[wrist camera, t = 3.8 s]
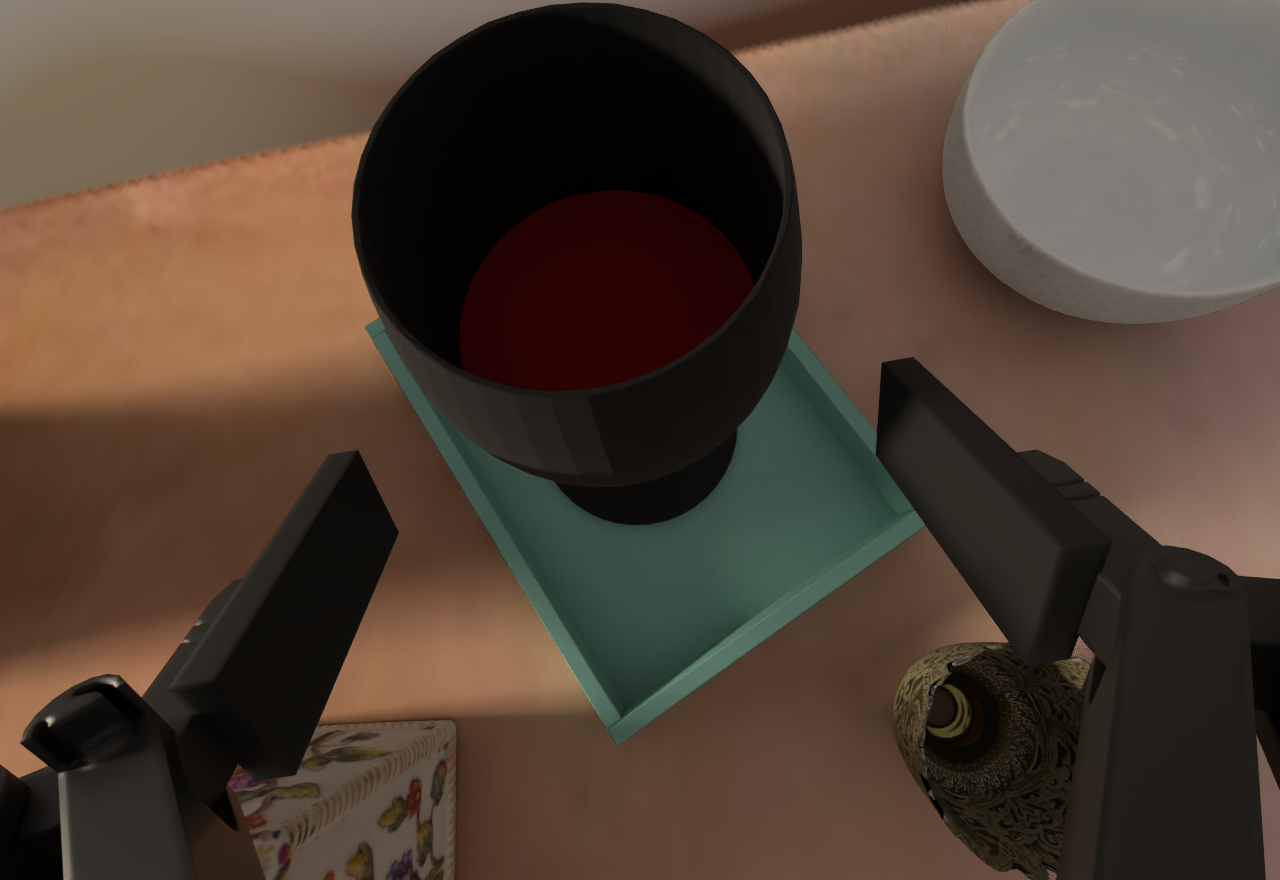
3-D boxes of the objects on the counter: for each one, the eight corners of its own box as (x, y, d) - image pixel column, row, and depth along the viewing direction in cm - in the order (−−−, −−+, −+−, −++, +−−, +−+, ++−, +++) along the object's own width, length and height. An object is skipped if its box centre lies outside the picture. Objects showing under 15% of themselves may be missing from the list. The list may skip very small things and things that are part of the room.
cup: (1050, 761, 27) (1201, 840, 19) (898, 819, 27) (988, 922, 19) (973, 600, 29) (1084, 612, 21) (830, 655, 28) (887, 687, 21)
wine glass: (623, 296, 33) (540, -108, 13) (778, 408, 31) (950, 130, 11) (498, 443, 31) (202, 234, 12) (653, 569, 29) (604, 569, 10)
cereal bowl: (1123, 40, 34) (1234, -92, 28) (1302, 282, 31) (1482, 200, 24) (854, 150, 34) (898, 44, 27) (1003, 408, 30) (1098, 361, 24)
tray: (390, 347, 33) (363, 326, 31) (650, 180, 35) (647, 146, 32) (623, 729, 28) (616, 746, 26) (917, 519, 30) (942, 514, 27)
